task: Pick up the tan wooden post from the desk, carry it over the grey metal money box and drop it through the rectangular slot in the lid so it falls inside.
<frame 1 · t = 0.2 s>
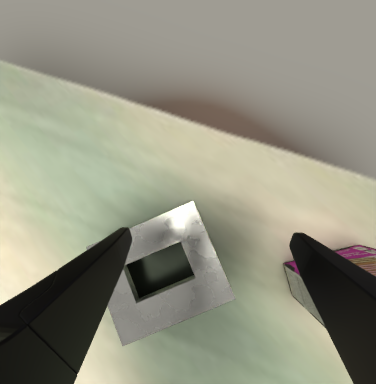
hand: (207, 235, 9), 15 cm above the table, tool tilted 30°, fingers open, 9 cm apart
money box: (166, 257, 23), on the table
candy bar box: (323, 268, 22), on the table
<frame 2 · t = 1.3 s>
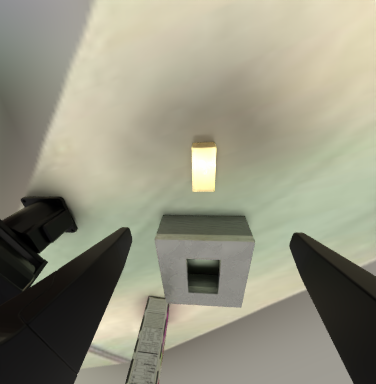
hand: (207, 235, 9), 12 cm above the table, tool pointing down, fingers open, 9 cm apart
money box: (202, 249, 27), on the table
candy bar box: (159, 309, 37), on the table
tan wooden post: (203, 162, 20), on the table
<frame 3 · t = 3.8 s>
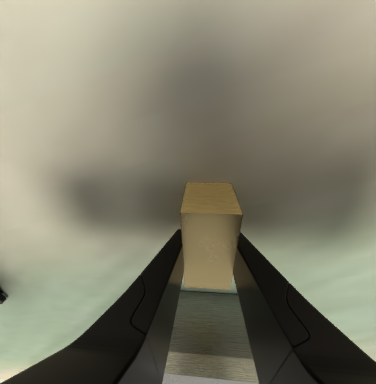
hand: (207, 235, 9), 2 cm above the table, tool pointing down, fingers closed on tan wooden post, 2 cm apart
money box: (203, 330, 17), on the table
tan wooden post: (206, 218, 10), on the table, touching gripper
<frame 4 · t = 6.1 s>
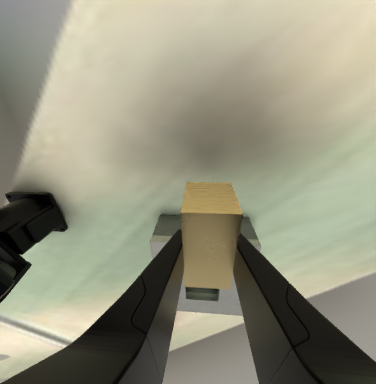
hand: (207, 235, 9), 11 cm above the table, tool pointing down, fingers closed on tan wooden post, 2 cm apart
money box: (202, 252, 25), on the table
tan wooden post: (207, 218, 10), point 9 cm above the table, touching gripper
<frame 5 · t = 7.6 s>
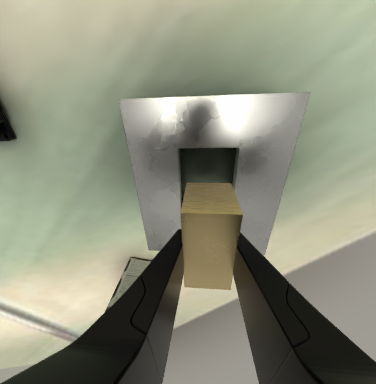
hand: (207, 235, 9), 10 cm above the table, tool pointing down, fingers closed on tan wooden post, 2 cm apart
money box: (205, 172, 18), on the table
candy bar box: (145, 278, 28), on the table
tan wooden post: (207, 218, 10), point 8 cm above the table, touching gripper
when the fingers open (8 cm above the table, at t = 8.6 s): tan wooden post drops 7 cm, resting in money box.
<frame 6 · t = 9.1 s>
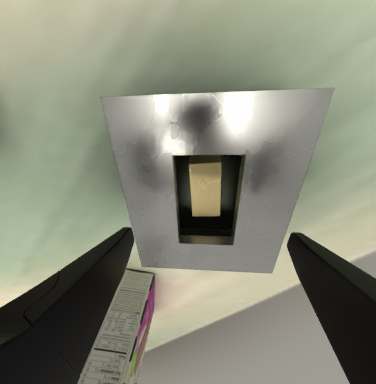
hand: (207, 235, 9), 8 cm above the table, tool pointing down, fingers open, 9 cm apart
money box: (205, 179, 16), on the table
candy bar box: (141, 290, 26), on the table
tan wooden post: (205, 178, 16), resting in money box
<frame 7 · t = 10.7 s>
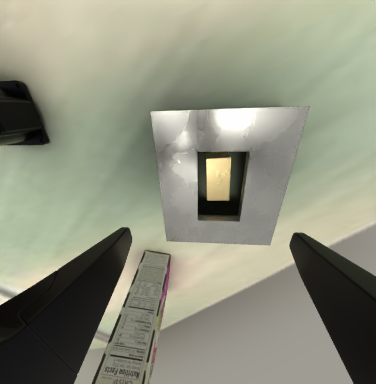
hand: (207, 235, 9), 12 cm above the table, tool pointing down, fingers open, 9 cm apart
money box: (216, 172, 20), on the table
candy bar box: (157, 270, 30), on the table
tan wooden post: (216, 171, 20), resting in money box
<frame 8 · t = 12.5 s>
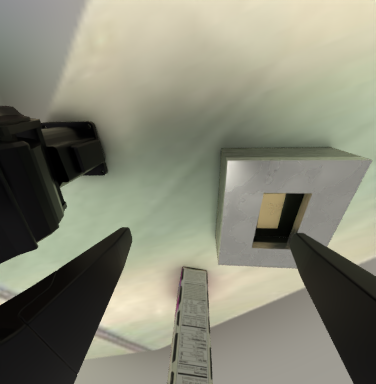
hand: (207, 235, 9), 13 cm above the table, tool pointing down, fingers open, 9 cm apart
money box: (262, 200, 22), on the table
candy bar box: (191, 284, 32), on the table
tan wooden post: (262, 199, 22), resting in money box
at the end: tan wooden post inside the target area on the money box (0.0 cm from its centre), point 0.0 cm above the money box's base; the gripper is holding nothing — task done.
